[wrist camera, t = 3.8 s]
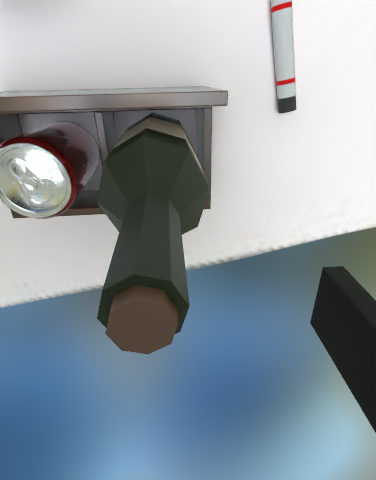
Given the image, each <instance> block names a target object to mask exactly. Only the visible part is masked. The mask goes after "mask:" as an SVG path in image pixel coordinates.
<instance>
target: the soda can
mask: <svg viewBox="0 0 376 480" xmlns="http://www.w3.org/2000/svg"><path fill="white" fill-rule="evenodd" d="M99 157H100V155H99V149H98V146H97V144H96V142H95V140H94V138H93V137H92V136H91V135H90V133H89V132H88V131H86V130H85V129H84V128H83V127H81V126H79V125H77V124H75V123H72V122H67V121H57V122H53V123H50V124H48V125H45V126H42V127H40V128H37V129H35V130H32V131H29V132H27V133H24V134H22V135H19V136H16V137H14V138H11V139H9V140H7V141H5V142H3V143H1V144H0V200H1V201H2V202H3V203H4V204H6V205H7V206H8V207H9V208H11V209H12V210H14V211H15V212H17V213H19V214H21V215H24V216H27V217H30V218H37V219H44V218H51V217H55V216H57V215H60V214H62V213H63V212H64V211H66V210H67V209H68V208H69V207H70V206H71V204H72V203H73V202H74V200H75V199H76V198H77V196H78V195H79V194H80V192H81V191H82V190H83V188H84V187H85V186H86V184H87V183H88V182H89V180H90V179H91V178H92V176H93V175H94V173H95V172H96V170H97V168H98V165H99Z"/></svg>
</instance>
